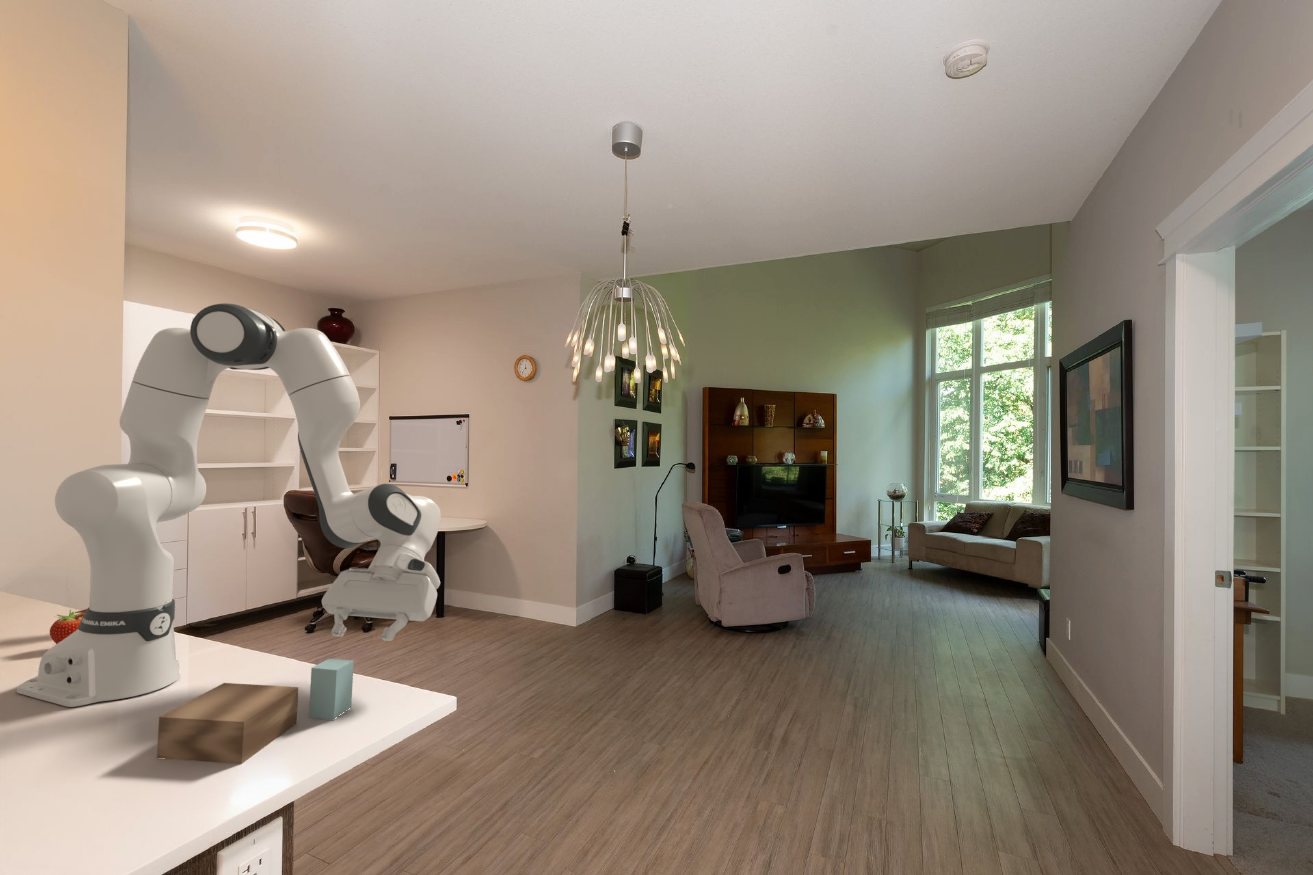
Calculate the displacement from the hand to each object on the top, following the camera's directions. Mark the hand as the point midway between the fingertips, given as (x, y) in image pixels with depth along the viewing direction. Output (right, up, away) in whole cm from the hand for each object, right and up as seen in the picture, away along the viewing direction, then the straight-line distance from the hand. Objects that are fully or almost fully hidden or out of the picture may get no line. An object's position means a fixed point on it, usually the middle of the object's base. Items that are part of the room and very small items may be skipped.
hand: (361, 637), depth 106 cm
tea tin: (-1, -10, -7) cm, 13 cm away
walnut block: (-11, -10, -17) cm, 23 cm away
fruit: (-66, -7, +15) cm, 68 cm away
